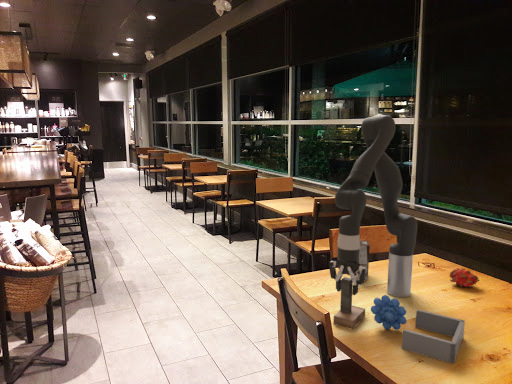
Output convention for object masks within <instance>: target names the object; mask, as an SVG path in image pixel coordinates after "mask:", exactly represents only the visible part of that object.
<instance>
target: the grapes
mask: <svg viewBox="0 0 512 384" xmlns="http://www.w3.org/2000/svg"><path fill="white" fill-rule="evenodd" d="M373 304H374V305H371V306H370V311H371V313H372V314H374V317H373V318H374V322H376V323H377V324H382V325H381V326H382V327H383V328H384V329H385V330H391V329H392V328H393V330H396V331H398V330H400V329H401V325H406V324H407V321H408V320H407V318H406V317H405V316H406V314H407V310H406V308H405V307H404V306H401V302H400V301H399V300H398V299H397V298H395V297H393V298H391V297H390V296H389V295H387V294H384V295H382V296H381V298H379V297H375V298H374V299H373Z"/></svg>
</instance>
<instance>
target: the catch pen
mask: <svg viewBox="0 0 512 384" xmlns="http://www.w3.org/2000/svg"><path fill="white" fill-rule="evenodd" d="M465 323H466V321H465V320H464V319H460V318H455V317H453V316H452V317H451V316H447V315H443V314H439V313H435V312H430V311H427V310H423V309H417V308H416V311H415V323H414V324H415V326H414V327H415V328H418V329H421V330H426V331H429V332H433V333H436V334H441V335H445V336H449V337H451V336H452V337H451V338H452V340H451V341H450V340H446V339H443V338H439V337H435V336H433V335H428V334H425V333H420V332H418V331H417V332H416V331H413V330H409V329H406V328H403V329H402V337H401V339H402V340H401V350H404V351H408V352H411V353H415V354H417V355H418V354H419V355H422V356H425V357H429V358H431V359H436V360H438V359H439V360H438V361H442V360H443V361H442V362H445V361H446V363H448V362H450V363H449V364H452V363H453V364H452V365H455V362H456V359H457V357H456V356H458V354H459V351H460V348H461V345H462V343H461V342H463V339H464V332H465ZM457 353H458V354H457Z"/></svg>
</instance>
